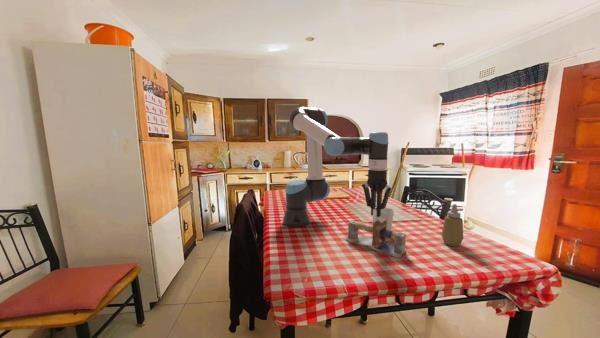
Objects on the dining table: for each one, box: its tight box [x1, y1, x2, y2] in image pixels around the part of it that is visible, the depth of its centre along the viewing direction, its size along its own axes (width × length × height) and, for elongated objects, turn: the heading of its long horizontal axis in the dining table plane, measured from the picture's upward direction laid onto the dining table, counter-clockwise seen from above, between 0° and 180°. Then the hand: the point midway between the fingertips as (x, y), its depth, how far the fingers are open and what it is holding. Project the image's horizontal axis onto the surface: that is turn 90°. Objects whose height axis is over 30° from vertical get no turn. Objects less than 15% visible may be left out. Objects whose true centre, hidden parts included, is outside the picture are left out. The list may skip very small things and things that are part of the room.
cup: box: [379, 207, 395, 231], centre depth 111 cm, size 8×8×12 cm
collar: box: [371, 218, 387, 248], centre depth 96 cm, size 2×8×10 cm, turn 138°
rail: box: [345, 220, 407, 259], centre depth 98 cm, size 24×8×8 cm, turn 48°
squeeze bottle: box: [441, 203, 464, 247], centre depth 98 cm, size 8×8×18 cm
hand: (375, 223), depth 97 cm, fingers closed
